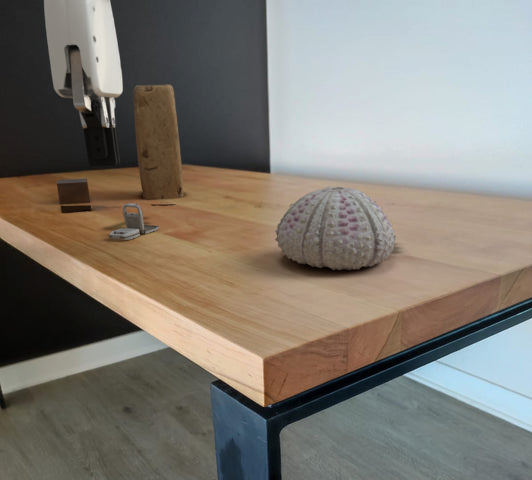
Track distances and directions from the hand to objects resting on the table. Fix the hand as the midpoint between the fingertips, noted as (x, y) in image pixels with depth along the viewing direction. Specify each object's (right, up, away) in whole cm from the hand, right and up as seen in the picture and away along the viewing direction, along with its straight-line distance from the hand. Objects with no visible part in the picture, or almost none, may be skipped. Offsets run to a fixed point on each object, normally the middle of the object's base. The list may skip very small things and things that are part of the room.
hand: (104, 164), depth 63 cm
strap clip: (0, -5, +14) cm, 15 cm away
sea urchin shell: (+27, -12, -1) cm, 29 cm away
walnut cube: (-15, +4, +33) cm, 37 cm away
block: (-1, +6, +39) cm, 40 cm away
